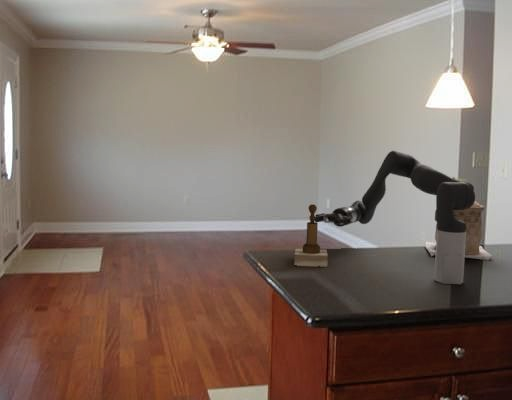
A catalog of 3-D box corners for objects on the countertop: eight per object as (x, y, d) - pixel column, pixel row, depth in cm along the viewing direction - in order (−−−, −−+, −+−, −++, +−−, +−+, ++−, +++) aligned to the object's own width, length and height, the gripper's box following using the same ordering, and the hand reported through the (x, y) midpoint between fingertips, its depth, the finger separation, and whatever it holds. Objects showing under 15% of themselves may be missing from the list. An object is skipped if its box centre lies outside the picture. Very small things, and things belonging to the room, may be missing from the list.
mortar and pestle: (320, 254, 214) (322, 205, 212) (303, 253, 215) (304, 205, 213) (319, 250, 221) (320, 203, 219) (302, 250, 221) (303, 203, 219)
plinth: (327, 266, 212) (327, 256, 211) (294, 265, 213) (294, 254, 212) (326, 259, 224) (326, 249, 223) (295, 258, 225) (295, 248, 224)
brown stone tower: (493, 261, 228) (498, 180, 224) (428, 257, 233) (432, 177, 229) (482, 249, 252) (487, 175, 249) (423, 245, 257) (427, 173, 253)
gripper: (329, 205, 242) (309, 209, 229) (360, 208, 234) (342, 213, 221) (328, 223, 243) (309, 228, 230) (359, 227, 235) (341, 232, 222)
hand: (325, 220), depth 225 cm, fingers open, 8 cm apart
